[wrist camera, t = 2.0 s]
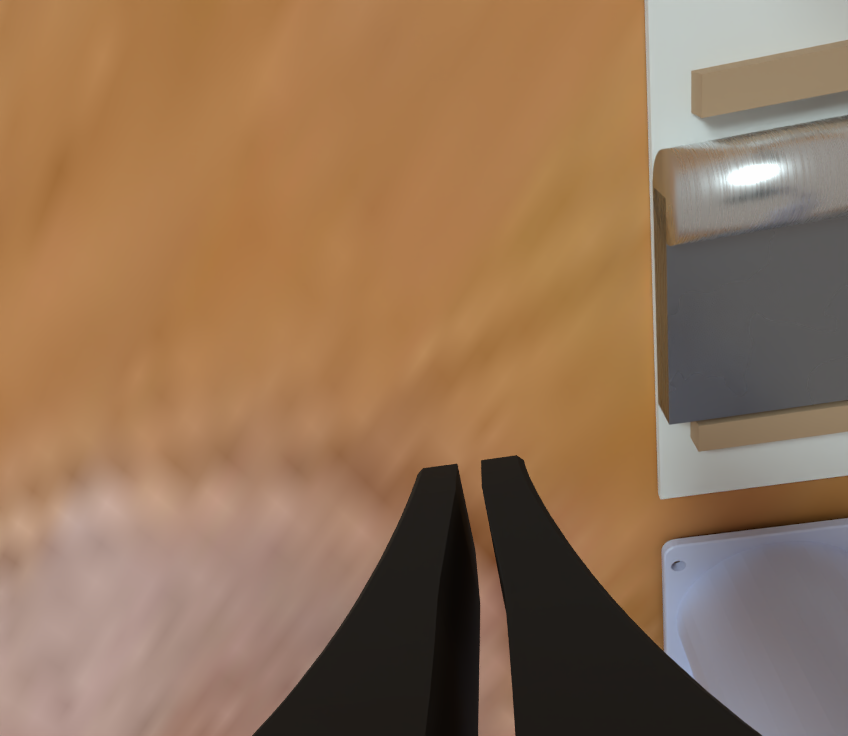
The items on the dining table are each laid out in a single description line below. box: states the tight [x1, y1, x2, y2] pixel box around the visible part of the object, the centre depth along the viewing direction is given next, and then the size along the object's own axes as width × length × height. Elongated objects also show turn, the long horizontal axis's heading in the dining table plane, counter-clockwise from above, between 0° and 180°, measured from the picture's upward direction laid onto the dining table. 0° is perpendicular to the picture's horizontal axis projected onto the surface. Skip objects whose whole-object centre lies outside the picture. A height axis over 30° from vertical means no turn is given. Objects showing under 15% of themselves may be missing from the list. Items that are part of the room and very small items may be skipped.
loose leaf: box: [653, 115, 848, 425], centre depth 18 cm, size 8×7×2 cm
